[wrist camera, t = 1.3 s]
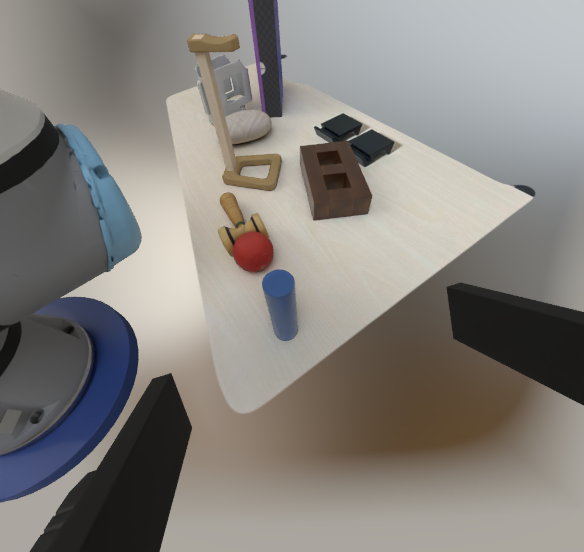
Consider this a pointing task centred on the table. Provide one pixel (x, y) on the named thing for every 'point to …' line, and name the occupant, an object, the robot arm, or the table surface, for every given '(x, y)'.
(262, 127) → the decorative stone
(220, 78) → the cable organizer
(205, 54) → the headphone stand
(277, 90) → the cereal box
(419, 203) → the table surface
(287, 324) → the peg
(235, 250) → the kendama
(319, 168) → the rack
